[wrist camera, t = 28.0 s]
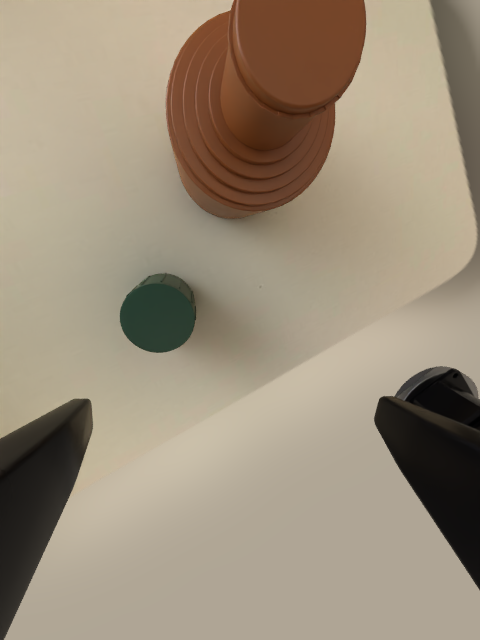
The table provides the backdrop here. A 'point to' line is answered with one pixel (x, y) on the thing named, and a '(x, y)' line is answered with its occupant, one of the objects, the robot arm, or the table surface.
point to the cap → (159, 313)
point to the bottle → (261, 100)
